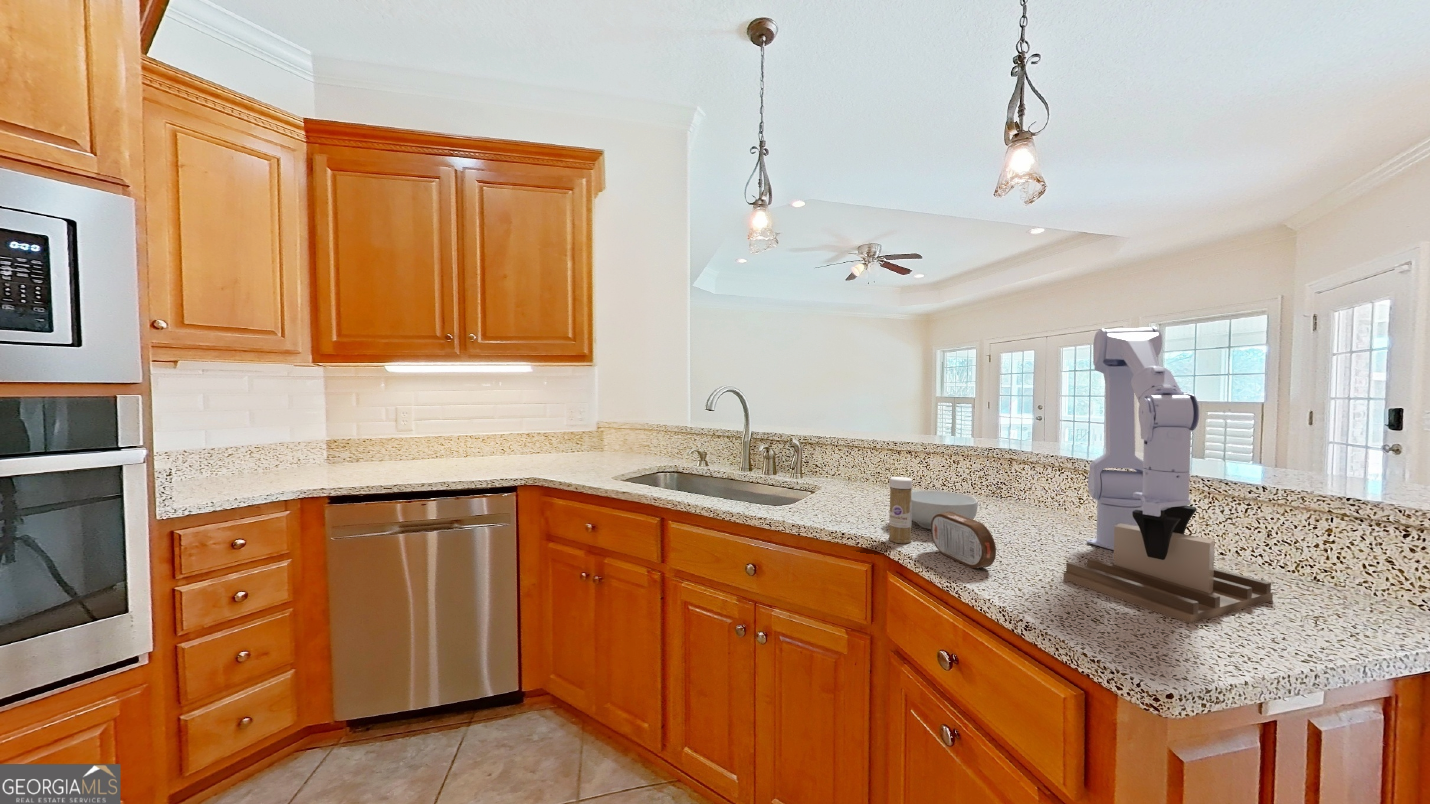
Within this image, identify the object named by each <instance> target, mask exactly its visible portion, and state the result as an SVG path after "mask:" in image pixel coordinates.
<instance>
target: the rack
mask: <svg viewBox="0 0 1430 804" xmlns="http://www.w3.org/2000/svg"><path fill="white" fill-rule="evenodd" d="M1065 568H1066V570H1065V571H1063V580H1065V581H1067V582H1070V583H1073V584H1076V585H1078V586H1082V587H1085V588H1087V589H1090V590H1093V591H1096V592H1098V593H1101V594H1104V595H1107V596H1109V597H1113V598H1115V599H1118V600H1122V601H1125V602H1127V603H1130V604H1133V605H1136V606H1138V607H1141V608H1144V609H1146V610H1150V611H1153V612H1155V613H1158V614H1161V615H1164V616H1167V617H1169V618H1173V619H1176V620H1178V621H1180V622H1184V623H1187V624H1190V625H1191V624H1196V623H1199V622H1202V621H1205V620H1208V619H1212V618H1216V617H1219V616H1223V615H1226V614H1230V613H1233V612H1236V611H1240V610H1243V609H1248V608H1250V607H1254V606H1256V605H1260V604H1264V603H1268V602H1271V601H1273V599H1274V597H1273V595H1274V593H1273V592H1272V591H1271V590H1272V582H1269V581H1266V580H1263V579H1262V580H1261V579H1258V578H1254V577H1251V576H1246V575H1243V574H1238V573H1234V572H1231V571H1227V570H1223V569H1220V568H1217V567H1214V579H1213V591H1212V592H1211V593H1208V592H1204V591H1201V590H1197V589H1194V588H1191V587H1187V586H1184V585H1181V584H1177V583H1174V582H1171V581H1167V580H1164V579H1161V578H1157V577H1154V576H1151V575H1147V574H1144V573H1141V572H1137V571H1134V570H1130V569H1127V568H1124V567H1120V566H1117V565H1114V561H1113V562H1107V561H1103V560H1100V559H1097V558H1093V557H1089V558H1086V566H1085V565H1083V564H1080V563H1076V562H1074V561H1067V562H1066V565H1065Z"/></svg>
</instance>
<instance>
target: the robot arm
mask: <svg viewBox="0 0 1430 804" xmlns="http://www.w3.org/2000/svg"><path fill="white" fill-rule="evenodd" d="M1162 346H1163V335H1162V332H1161V330H1160V329H1158V327H1156V326H1150V327H1137V328H1136V327H1135V328H1134V327H1133V328H1132V327H1131V328H1130V327H1129V328H1106V329H1105V328H1099V329H1098V330H1097V331H1096V332H1095V335H1094V339H1093V344H1092V347H1093V348H1092V349H1093V350H1092V351H1093V352H1092V354H1093V355H1092V356H1093V361H1092V362H1093V366H1094V371H1097V372H1099V373H1100V374H1103V377H1104V378H1103V379H1104V384H1105V453H1104V454H1102V455H1100V456H1099V457H1097V458H1095V459H1094V460H1092V461H1091V463H1090V464H1089V470H1088V471H1089V473H1088V476H1087V477H1088V478H1087V489H1088V494H1089V496H1090V497H1091V498H1092V499H1093V500H1095V501H1096V504H1097V506H1096V512H1097V513H1096V538H1093V539H1092V538H1091V539H1086V541H1085V543H1087V544H1090V545H1093V546H1097V547H1101V548H1104V549H1108V550H1111V551H1114V526H1116V525H1118V524H1120V523H1122V524H1128V525H1133V526H1139V529H1140V531H1141V534H1142V537H1143V541H1144V545H1145V549H1146V553H1147V556H1148V557H1151V558H1156V559H1161V560H1164V559H1165V558H1166V556H1167V553H1168V548H1169V543H1170V539H1171V536H1172V533H1179V534H1185V533H1186V530H1187V527H1188V524H1189V522H1190V521H1191V519H1192V517H1193V516H1194V514H1195V513H1196V512H1197V507H1195V506H1192V505H1191V502H1192V501H1191V498H1190V477H1191V476H1190V473H1191V472H1190V471H1191V440H1192V439H1191V438H1192V437H1191V436H1192V431H1195V430H1196V428H1197V427H1198V424H1199V421H1200V406H1199V405H1200V404H1199V402H1198V399H1197V397H1196V395H1195V394H1193V393H1188V391H1182V390H1181V388H1180V385H1179V384H1178V382H1177V381H1176V379H1175V377H1174V375H1173V373H1172V372H1171V371H1170V370H1169V369H1168V368H1166V367H1162V366H1160V364H1159V360H1158V356H1159V355H1160V354H1161V353H1162ZM1135 397H1136V400H1137V402H1138V403H1139V405H1138V422H1139V426H1140V427H1139V428H1140V439H1141V440H1143V457H1142V458H1143V459H1141V458H1139V457H1138V456H1137V455H1136V440H1135V439H1136V435H1135V434H1136V430H1135V429H1136V427H1135V426H1136V424H1135V415H1136V414H1135ZM1110 468H1111V469H1112V470H1111V469H1110ZM1115 469H1116V470H1115ZM1117 469H1130V470H1117ZM1131 469H1132V470H1131Z"/></svg>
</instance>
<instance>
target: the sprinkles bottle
mask: <svg viewBox="0 0 1430 804" xmlns="http://www.w3.org/2000/svg"><path fill="white" fill-rule="evenodd" d="M912 488H913V479H912V478H910V477H908V476H907V477H906V476H892V477H889V489H890V491H889V493H890V494H889V511H888V512H889V518H888V519H889V520H888V521H889V536H888V539H889V541H891V542H892V543H896V544H904V545H905V544H910V543H911V542H912V520H911V491H913V490H912Z"/></svg>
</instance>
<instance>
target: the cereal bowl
mask: <svg viewBox="0 0 1430 804" xmlns="http://www.w3.org/2000/svg"><path fill="white" fill-rule="evenodd" d="M978 503H979V501H978V499H977V498H976V497H974V496H971V495H968V494H964V493H959V492H952V491H945V490H928V489H927V490H923V489H921V490H917V489H916V490H911V521H913V522H916V523H917V524H918V525H919V526H920V527H922V528H924V529H928V530H931V521H932V519H933V517H934V516H935V515H937V514H940V513H945V512H949V511H950V512H954V513H957V514H959V515H962V516H964V517H967V518H970V519H973V520H975V518H976V516H977V512H978V506H979V505H978Z"/></svg>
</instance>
